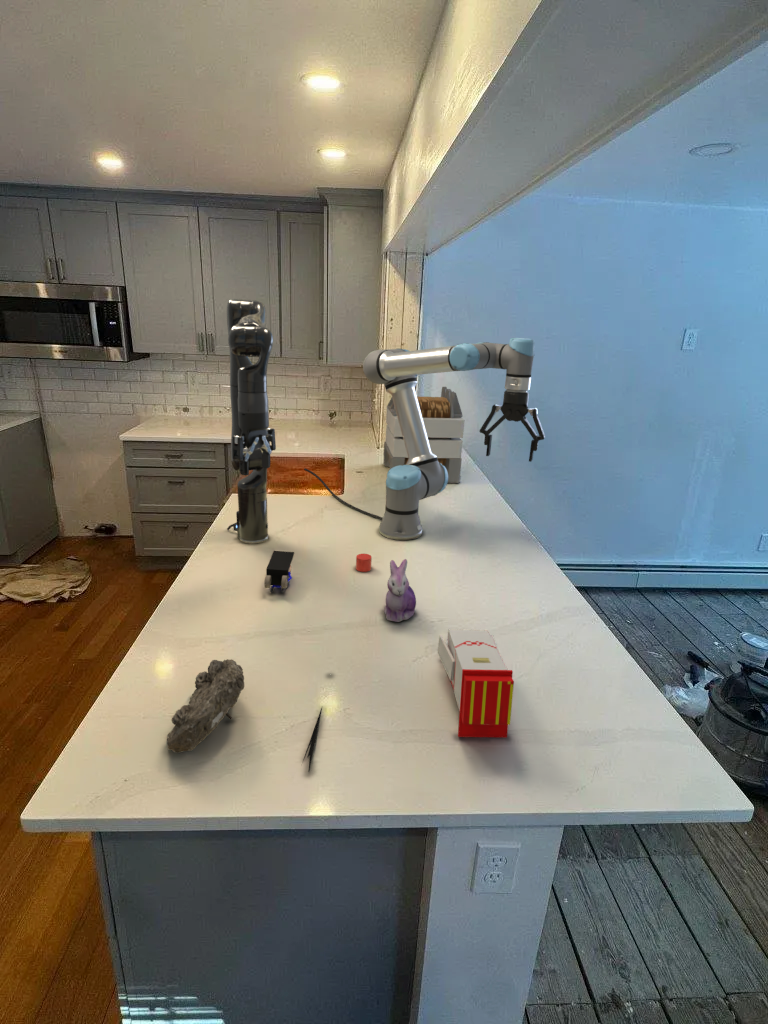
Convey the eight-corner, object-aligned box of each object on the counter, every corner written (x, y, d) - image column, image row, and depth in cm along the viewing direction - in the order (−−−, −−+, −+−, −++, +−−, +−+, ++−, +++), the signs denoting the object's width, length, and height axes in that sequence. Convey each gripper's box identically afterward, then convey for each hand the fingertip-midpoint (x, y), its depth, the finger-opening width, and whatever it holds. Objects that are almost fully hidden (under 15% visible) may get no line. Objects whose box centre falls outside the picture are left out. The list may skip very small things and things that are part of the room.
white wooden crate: (382, 463, 289) (386, 382, 275) (445, 464, 293) (451, 384, 279) (390, 482, 257) (394, 392, 243) (460, 483, 261) (468, 394, 247)
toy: (488, 613, 130) (523, 677, 101) (484, 667, 133) (517, 744, 104) (435, 612, 130) (455, 676, 101) (432, 666, 133) (451, 743, 103)
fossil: (192, 660, 117) (244, 628, 112) (224, 691, 120) (276, 661, 115) (142, 746, 98) (202, 712, 93) (182, 779, 101) (242, 748, 96)
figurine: (392, 627, 141) (395, 572, 136) (374, 608, 149) (376, 556, 144) (425, 619, 145) (429, 566, 140) (405, 601, 154) (408, 550, 149)
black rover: (288, 601, 154) (295, 571, 167) (287, 577, 151) (294, 549, 164) (263, 600, 154) (272, 570, 167) (262, 576, 150) (271, 548, 164)
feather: (331, 679, 122) (336, 673, 122) (307, 777, 96) (313, 769, 95) (324, 675, 122) (329, 669, 121) (298, 772, 95) (304, 764, 95)
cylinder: (353, 567, 173) (353, 555, 171) (366, 564, 175) (366, 552, 174) (360, 573, 169) (361, 560, 168) (373, 570, 172) (374, 558, 170)
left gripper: (259, 404, 151) (261, 463, 156) (222, 411, 139) (225, 475, 144) (282, 407, 147) (283, 467, 153) (246, 414, 135) (248, 480, 141)
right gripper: (474, 388, 175) (468, 455, 182) (557, 395, 167) (547, 465, 174) (479, 386, 182) (473, 450, 189) (560, 392, 173) (550, 460, 180)
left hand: (255, 471), depth 149 cm, fingers open, 8 cm apart
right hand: (509, 458), depth 181 cm, fingers open, 13 cm apart
